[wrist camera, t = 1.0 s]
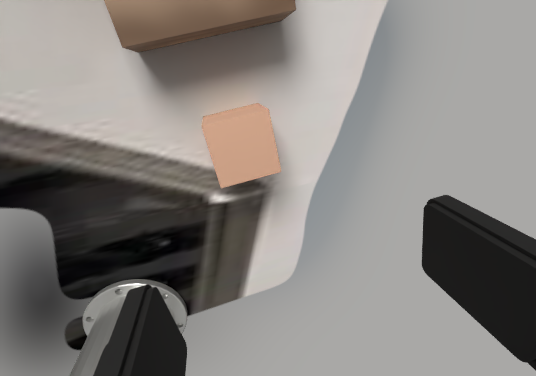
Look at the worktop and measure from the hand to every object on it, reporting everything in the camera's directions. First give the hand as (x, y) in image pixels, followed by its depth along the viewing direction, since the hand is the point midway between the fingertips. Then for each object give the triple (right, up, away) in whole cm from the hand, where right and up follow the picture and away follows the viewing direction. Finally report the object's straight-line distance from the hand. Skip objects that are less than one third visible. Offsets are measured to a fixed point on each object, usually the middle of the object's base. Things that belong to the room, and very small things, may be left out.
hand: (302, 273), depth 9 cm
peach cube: (-4, +9, +21) cm, 23 cm away
